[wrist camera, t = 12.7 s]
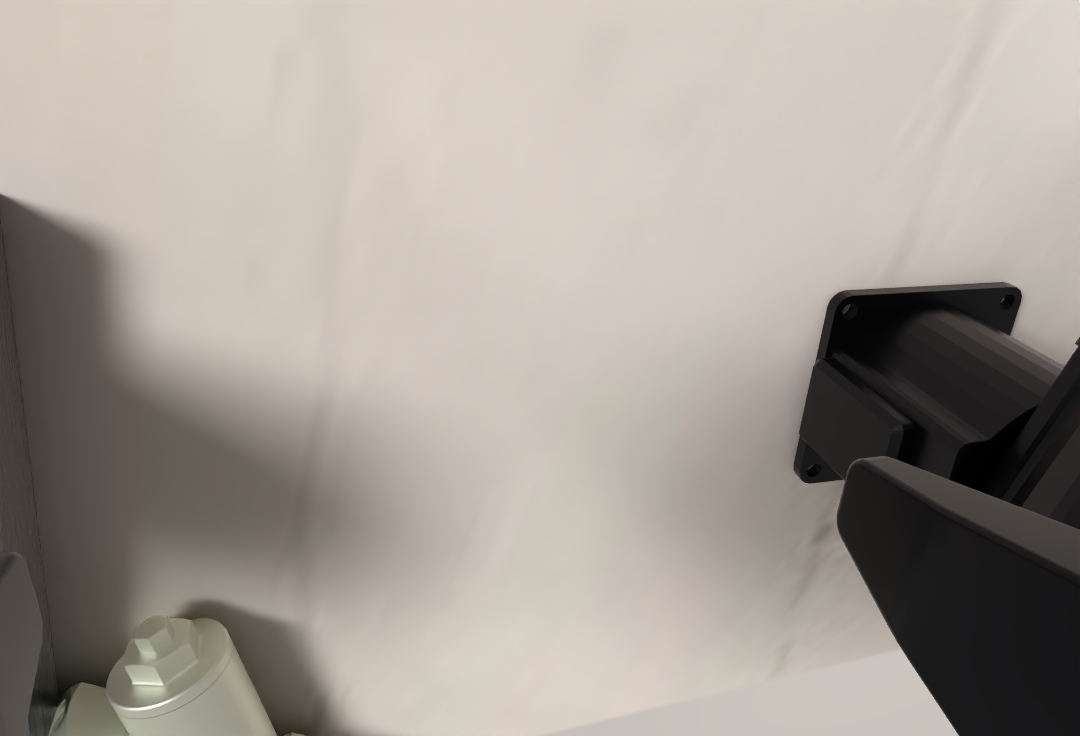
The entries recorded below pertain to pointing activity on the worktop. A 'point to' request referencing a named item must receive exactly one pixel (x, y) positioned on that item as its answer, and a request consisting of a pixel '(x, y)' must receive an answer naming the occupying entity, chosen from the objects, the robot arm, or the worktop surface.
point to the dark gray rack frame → (22, 508)
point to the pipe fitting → (169, 688)
